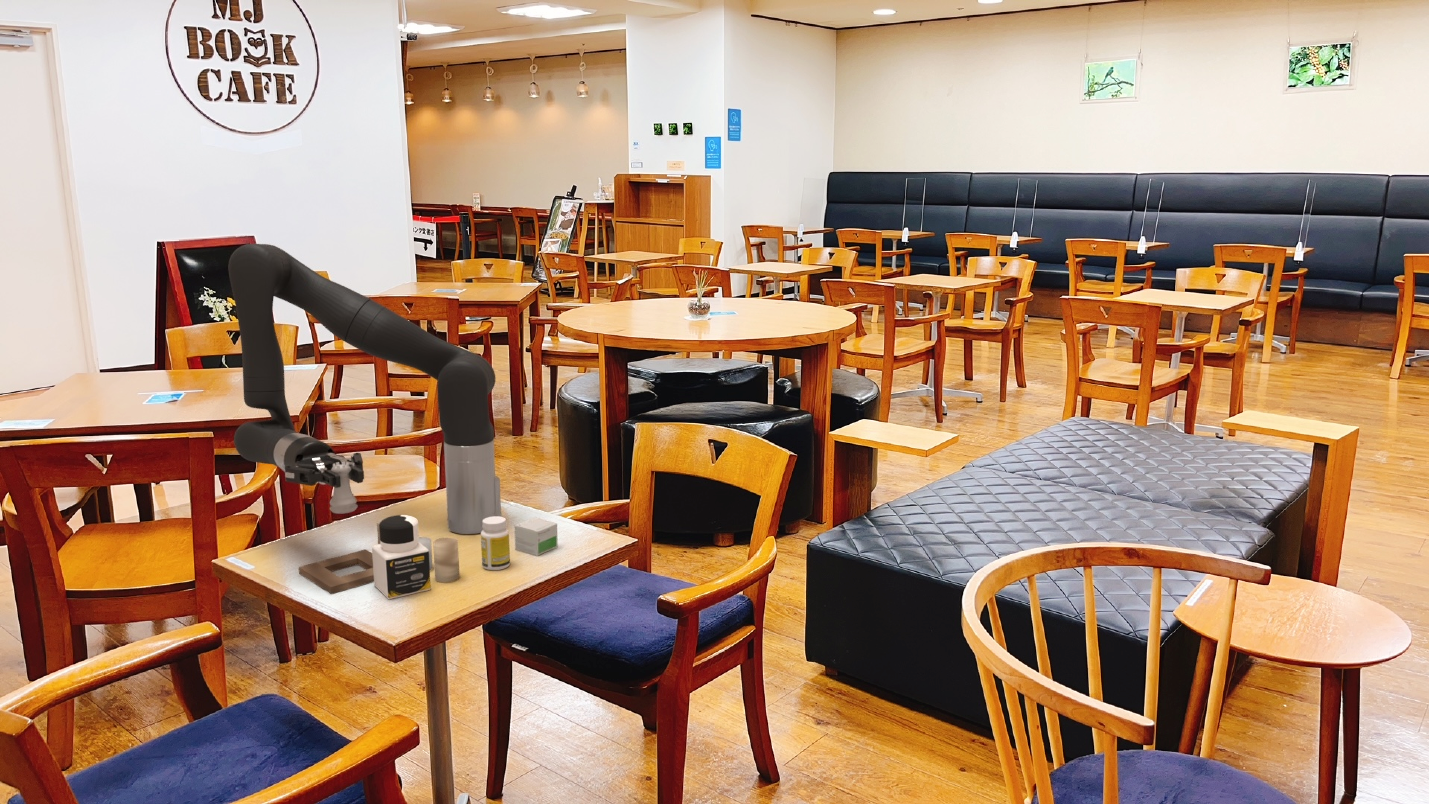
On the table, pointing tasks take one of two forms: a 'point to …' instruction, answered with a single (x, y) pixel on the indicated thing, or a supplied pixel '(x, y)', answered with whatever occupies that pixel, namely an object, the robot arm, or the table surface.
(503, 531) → the supplement bottle
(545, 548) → the small box
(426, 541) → the short grey peg
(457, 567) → the medium beech peg
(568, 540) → the table surface
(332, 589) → the hole board
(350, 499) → the rook chess piece
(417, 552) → the medicine bottle
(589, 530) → the table surface
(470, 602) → the table surface
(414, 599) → the table surface
